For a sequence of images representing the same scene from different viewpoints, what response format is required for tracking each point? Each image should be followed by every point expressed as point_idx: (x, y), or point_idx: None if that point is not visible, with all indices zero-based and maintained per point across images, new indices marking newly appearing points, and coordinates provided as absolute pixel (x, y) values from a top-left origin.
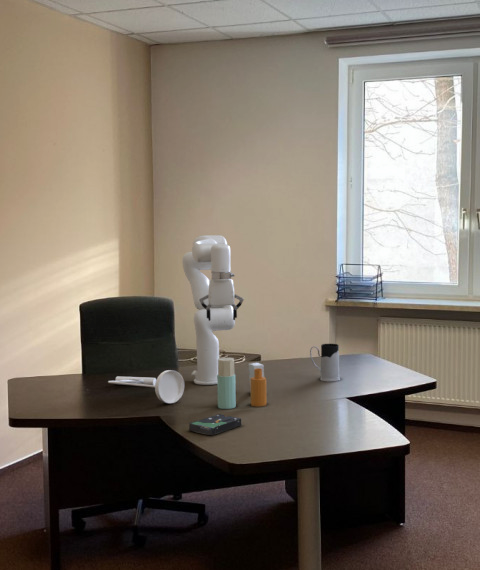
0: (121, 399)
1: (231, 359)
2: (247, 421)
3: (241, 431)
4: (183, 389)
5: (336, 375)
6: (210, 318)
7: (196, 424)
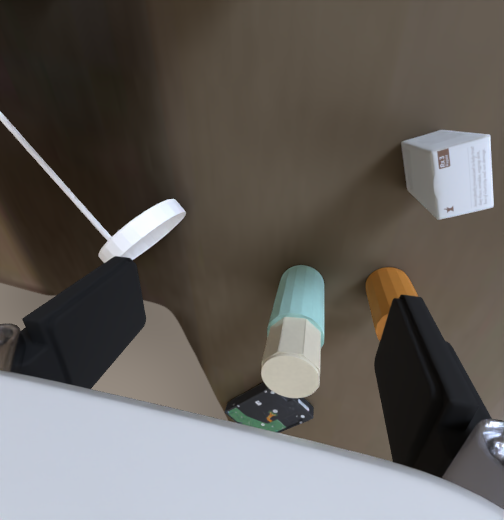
0: (44, 156)
1: (308, 390)
2: (329, 387)
3: (309, 426)
4: (182, 209)
5: None
6: (130, 278)
7: (236, 419)
